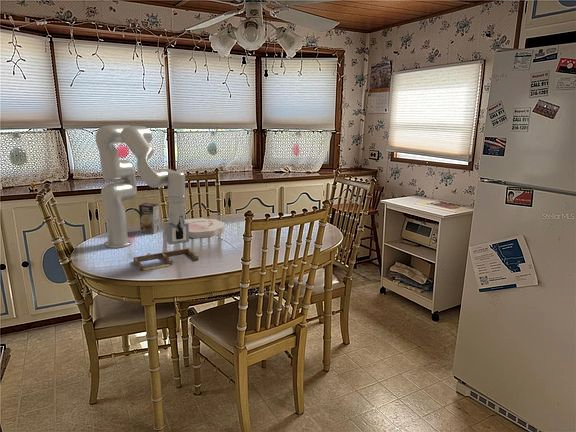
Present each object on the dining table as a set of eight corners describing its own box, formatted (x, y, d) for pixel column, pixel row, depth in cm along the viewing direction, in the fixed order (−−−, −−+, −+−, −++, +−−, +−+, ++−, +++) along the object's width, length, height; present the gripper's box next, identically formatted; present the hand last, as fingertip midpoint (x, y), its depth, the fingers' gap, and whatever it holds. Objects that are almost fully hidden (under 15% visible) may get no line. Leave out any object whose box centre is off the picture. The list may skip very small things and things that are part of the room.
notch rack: (133, 261, 185) (133, 255, 185) (188, 251, 199) (188, 246, 198) (141, 271, 174) (140, 265, 173) (199, 260, 188) (198, 255, 187)
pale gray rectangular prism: (167, 242, 187) (166, 223, 185) (185, 239, 192) (185, 221, 190) (169, 244, 184) (169, 225, 182) (189, 242, 189) (188, 223, 186)
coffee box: (139, 232, 229) (137, 205, 225) (146, 229, 235) (144, 202, 231) (154, 234, 227) (152, 206, 223) (160, 231, 233) (158, 203, 229)
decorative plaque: (160, 226, 230) (197, 216, 255) (160, 232, 231) (197, 221, 256) (200, 235, 215) (235, 223, 240) (200, 241, 216) (235, 229, 241)
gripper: (163, 195, 187) (164, 233, 192) (174, 203, 174) (175, 244, 179) (179, 194, 191) (179, 231, 196) (191, 202, 178) (192, 241, 183)
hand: (177, 237), depth 187 cm, fingers closed on pale gray rectangular prism, 4 cm apart
